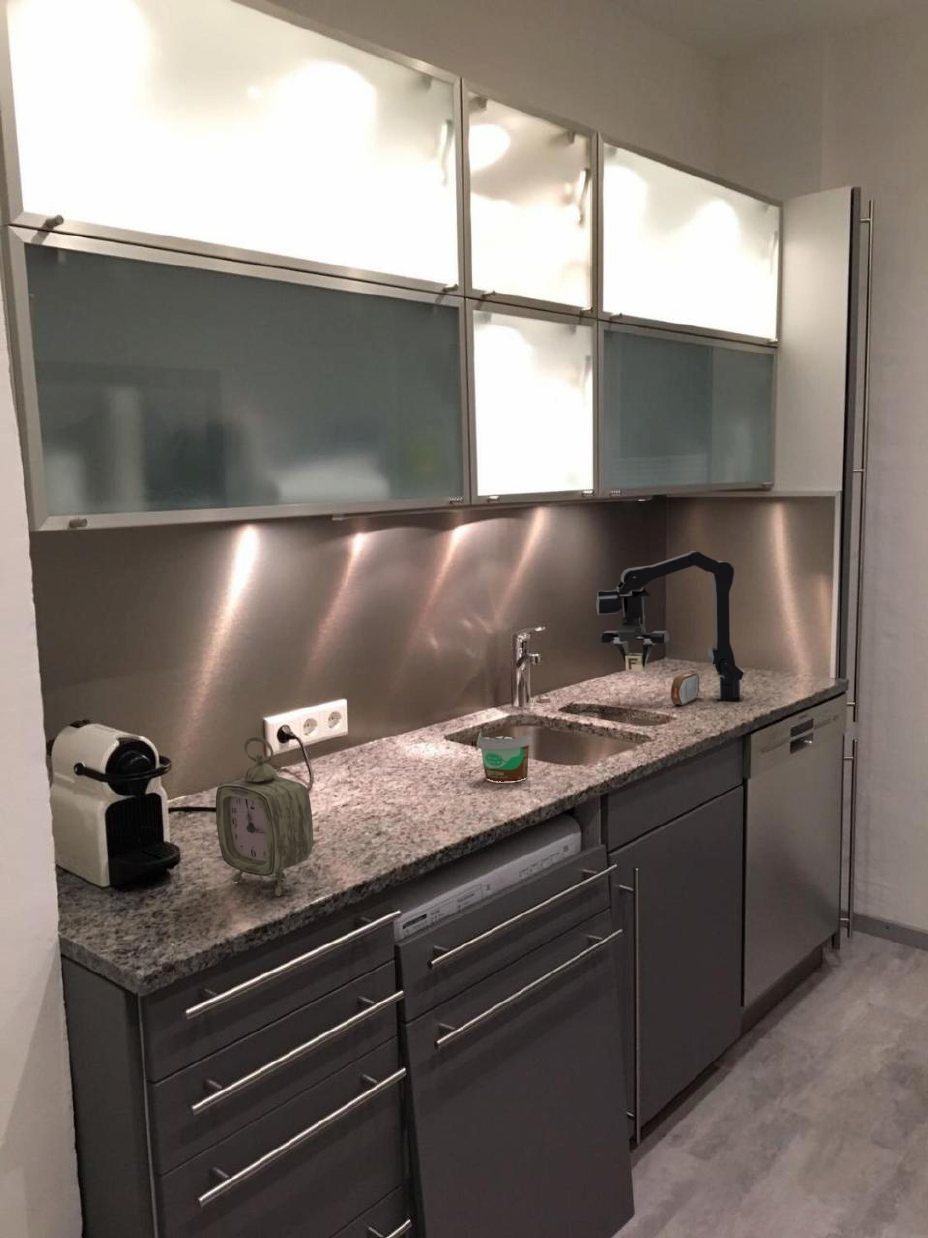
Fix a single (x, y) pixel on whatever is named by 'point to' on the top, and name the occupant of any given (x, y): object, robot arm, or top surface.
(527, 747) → the food container
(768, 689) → the top surface
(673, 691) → the tin
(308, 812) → the tabletop clock
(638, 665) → the letter cube
